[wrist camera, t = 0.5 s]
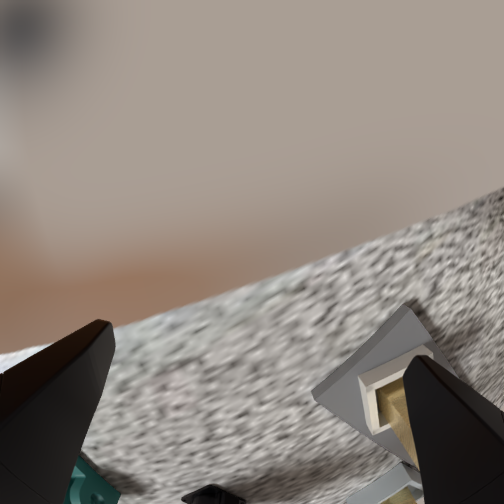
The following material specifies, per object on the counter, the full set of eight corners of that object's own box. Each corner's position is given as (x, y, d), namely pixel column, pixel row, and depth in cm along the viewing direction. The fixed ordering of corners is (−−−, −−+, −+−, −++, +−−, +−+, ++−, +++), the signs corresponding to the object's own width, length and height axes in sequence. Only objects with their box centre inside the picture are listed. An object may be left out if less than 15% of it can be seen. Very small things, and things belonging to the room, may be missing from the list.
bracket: (121, 492, 28) (108, 529, 20) (93, 492, 28) (79, 525, 20) (39, 407, 25) (9, 440, 17) (17, 412, 25) (-10, 441, 18)
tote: (375, 507, 30) (382, 523, 26) (345, 498, 29) (352, 517, 25) (423, 475, 30) (432, 489, 26) (400, 462, 28) (411, 480, 24)
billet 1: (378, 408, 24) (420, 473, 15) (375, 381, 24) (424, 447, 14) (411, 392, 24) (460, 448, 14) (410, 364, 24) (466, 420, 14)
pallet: (416, 464, 29) (425, 478, 25) (311, 391, 25) (319, 413, 22) (475, 409, 28) (487, 420, 24) (402, 303, 24) (422, 316, 21)
